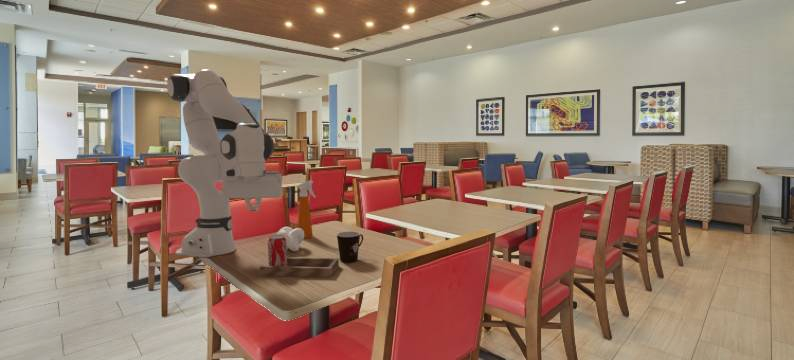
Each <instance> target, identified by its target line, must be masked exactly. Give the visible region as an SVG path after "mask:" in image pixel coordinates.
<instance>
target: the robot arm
mask: <svg viewBox="0 0 794 360" xmlns="http://www.w3.org/2000/svg"><path fill="white" fill-rule="evenodd" d="M166 83H167V84H166V90H167V93H168V97H170V98H171V99H172V100H173V101H176V102H179V103H183V102H184V104H183V105H182V115H183V117H182V118H183V122H184V127H185V131H186V134H187V138H188V141H189V144H190V146H191V147H192V148H193V149H194V150H196V151H199V152H200V153H203V155H202V154H201V155H192V156H189V157H188V156H187V157H184V158H182V159H181V160H180V161H179V164H178V166H177V174H178V176H179V178H180V179H181V180H182V182H183V183H185V184H187V185H189V187H191V188H192V189H193V191H194V193H195V194H196V195H197V199H198V204H199V213H200V214H199V215H200V217H198V218H197V219H195V220H194V224H196V227H195V228H193V229H192V230H191V231H190V232H188V233H187V234H185V236H184V237H183V238H182V241H181V247H180V248H178V249H177V250H176V251H175V255H176V256H183V257H185V256H186V257H198V258H210V257H215V256H220V255H225V254H229V253H232V252H235V251H236V250H237V246H236V244H235V241H234V236H233V218H232V216H233V215H231V203H230V202H231V200H230V199H244V202H245V204H246V205H247V207H248V212H258V211H259V210H260V207H259V206H260V204H261V203H262V199H279V198H281V197H282V196H283V194H284V191H283V190H284V189H283V183H282V182H283V175H282V173H281V172H280V171H278V170H266V161H267V160H269V158H271V156H272V155H273V154H274V153H275V146H276V145H275V142H274V139H273V138H272V137H271V135H270V134H269V133H268V132H267V131H265V130H264V128H263V127H262V126H261V124H259V122H258V121H257V119H256V117H254V115H253V114H252V112H251V111H250V110H249V109H248V107H246V106H245V104H243V103H242V102H240V101H239V100H237V99H236V98H235V97H234V96H233V95H232V94H231V93H230V92H229V90H228V86H227V83H226V80H225V79H224V78H223V77H221V76H219V74H217V73H216V72H215V71H214V70H211V69H207V68H206V69H201V70H198V71H197V72H196V73H186V74H185V73H184V74H181V73H177V74H176V73H175V74H172V75H170V76H169V77H168V79H167V82H166ZM214 118H218V119H223V120H228V121H231V122H234V123H236V124H237V125H236V127H235V128H236V129H234V130H233V131H232V132H230V133H227V134H225V135H224V136H223V137H222V139H221V137H220V135H219V132H218V129H217V125H216V123H215V120H214ZM220 182H222V186H221V188H222V189H221V190H218V189H217V187H216V183H220ZM252 199H254V201H255V205H253V204H252Z"/></svg>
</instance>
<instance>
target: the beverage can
mask: <svg viewBox="0 0 794 360" xmlns="http://www.w3.org/2000/svg"><path fill="white" fill-rule="evenodd" d="M267 250H268V251H267V252H268V253H267V254H268V266H287V257H288V249H287V240H286V238H285V236H284V235H277V234H273V235H270V236H269V239H268V240H267Z"/></svg>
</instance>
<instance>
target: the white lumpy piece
mask: <svg viewBox="0 0 794 360" xmlns="http://www.w3.org/2000/svg"><path fill="white" fill-rule="evenodd" d="M276 235H284V236H285V238H286V240H287V250H288V249H289V250H290V251H292V252H298V251H299V250H300V244H302V242H303V241H304V239H305V238H304V231H303V230H302V229H301V228H298V227H297V228H294V229H293V228H292V227H290V226H284V227H282V228H280V229H279V231H277V232H276Z"/></svg>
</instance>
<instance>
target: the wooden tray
mask: <svg viewBox="0 0 794 360" xmlns="http://www.w3.org/2000/svg"><path fill="white" fill-rule="evenodd" d="M339 261H340V257H339V258H338V257H334V258H333V257H300V256H299V257H294V256H293V257H290V256H287V266H269V265H261V266H260V267H259V269H260V276H262V277H265V276H267V277H268V276H269V277H303V278H305V277H307V278H308V277H309V278H311V277H312V278H332V277H333V276H334V274H335V273H336V271H337V270H338V268H339V265H340V264H339Z"/></svg>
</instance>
